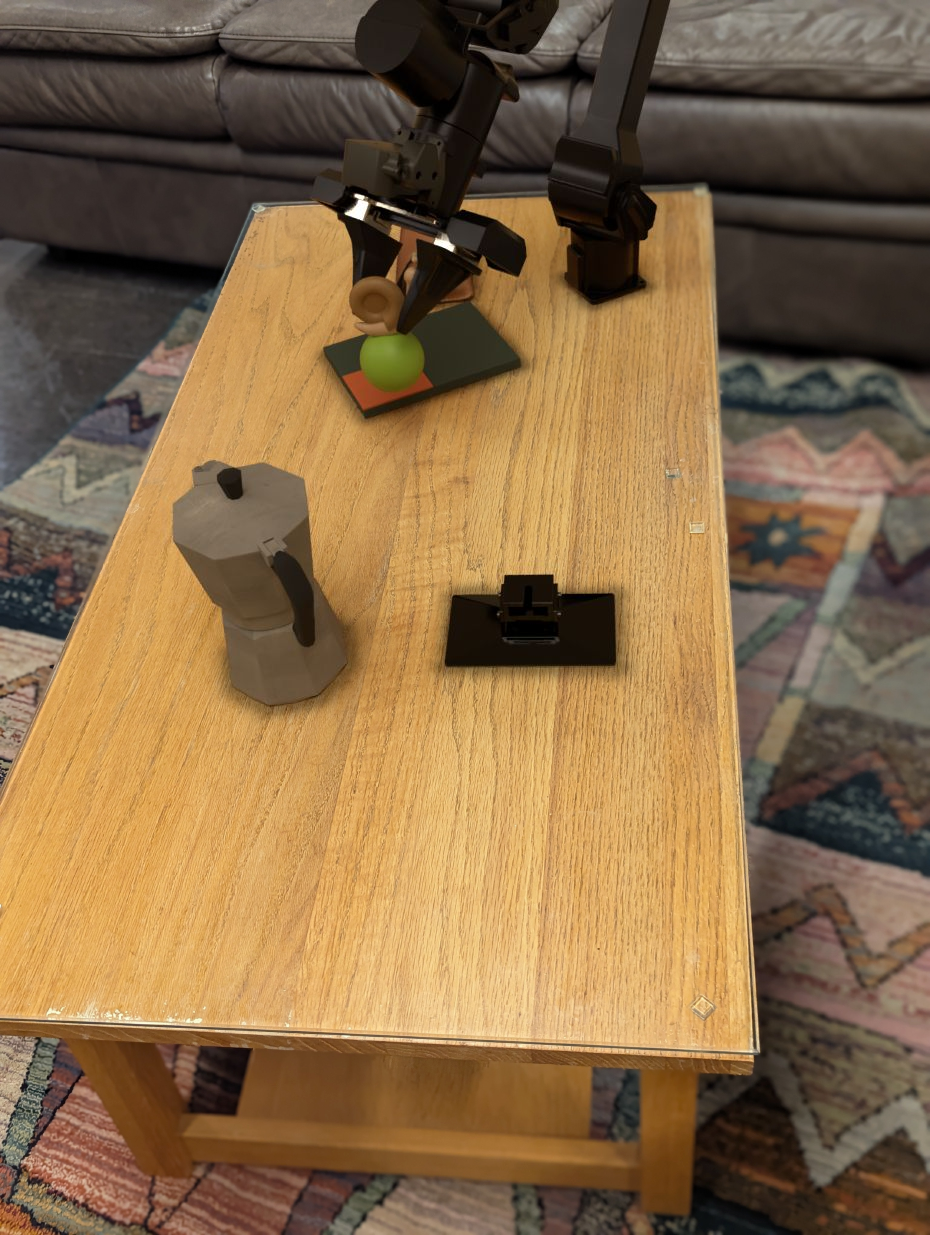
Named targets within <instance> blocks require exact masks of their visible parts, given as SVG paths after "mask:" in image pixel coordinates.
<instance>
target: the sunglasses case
mask: <svg viewBox="0 0 930 1235" xmlns="http://www.w3.org/2000/svg"><path fill="white" fill-rule="evenodd" d="M417 238H418V239H421V240H424V241H427V242H430V243H433V241H434V238H431V237H428V236H425V235H422V234H419V233H416V232H413V231H410V230H407V229H404V228H401V227H400V233H399V240H398V241H399V242H400V243H402V244H403V246H402V248H401V249H400V251H399V253H398V255H397V257H396V268H395V269H396V270H395V284H396V285H397V286H398V287H399V288H400V289H401V291H402V293H403V295H404V297H405V298H406V289H407V283H406V281H405V279H404V273H405V271H406V270H407V269H408V268H409V267H416V263H413V262H412V253H413V252H417V247H416V239H417ZM474 290H475V289H474V282H473V275H471V276H470V277H469V278H468V279H466V280H465V281H464V282H463V283H462V284H460V285H459V286H458V287H457V288H455V289H454V290H453V291H452V292H451V293H449V294H448V295H447V296H446V297H445V298H444V299H443V300H441V301H440V302H439V303H438V304H437V305H439V304H440V305H441V304H446V303H453V302H459V301H464V300H468V299H471V298H473V297H474V295H475V293H474Z"/></svg>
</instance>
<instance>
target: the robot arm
mask: <svg viewBox="0 0 930 1235" xmlns="http://www.w3.org/2000/svg"><path fill="white" fill-rule="evenodd" d="M670 4H671V0H613V2H612V7H611V10H610V15H609V19H608V23H607V27H606V31H605V35H604V39H603V44H602V47H601V51H600V56H599V60H598V64H597V68H596V72H595V76H594V80H593V83H592V84H593V85H592V89H591V93H590V96H589V101H588V105H587V109H586V113H585V117H584V120H583V121H582V123H580V125H579V126H578V127H577V128H576V129H575V130H574V131H573V133H572V134H571V135H570V136H569V135H564V134H563V135H561V136H560V138H559V139H558V141H557V142H556V144H555V151H554V152H555V153H554V157H553V162H552V166H551V169H550V172H549V173H548V176H547V181H548V184H547V199H548V201H549V202H550V206H551V208H552V212H553V215H554V218H555V222H556V224H557V226H558V227H560V228H567V229H569V230H570V243H569V244H567V246H566V271H565V272H564V273H563V274H564V275H563V278H564V279H565V281H566V282H567V283H568V284H570V285H571V286H572V287H573V288H574V289H575V291H577V292H578V293H579V294H580V295H581V296H582V297H583V298H584V299H585V300H586V301H587V302H588V303H589V304H591V305H596V304H599V303H602V302H606V301H608V300H611V299H614V298H615V299H616V298H617V297H621V296H623V295H627V294H630V293H633V292H636V291H639V290H642V289H645V288H647V280H646V279H644V278H643V277H642V276H641V275H640V242H643V241H646V240H647V239H648V238H649V231H650V230H652V229H653V227H654V225H655V221H656V214H657V210H658V204H657V203H656V202H655V201H653V200H652V198H651V197H649V195H648V194H647V193H646V192H645V191H644V190H643V189H641V185H642V180H643V179H642V178H643V175H644V168H645V165H644V162H643V158H642V157H643V156H642V153H641V148H640V144H639V140H638V136H637V130H638V126H639V122H640V117H641V115H642V110H643V106H644V104H645V103H644V102H645V99H646V96H647V92H648V88H649V84H650V81H651V76H652V73H653V69H654V65H655V61H656V57H657V54H658V50H659V46H660V42H661V38H662V36H663V30H664V27H665V23H666V19H667V16H668V12H669V8H670ZM559 8H560V0H376V1H375V2H374V3H373V4H372V5H371V6H370V7H369V8H368V9H367V12H366V13H365V15H363V16H360V17H361V18H360V19H359V21H358V23H357V27H356V31H355V36H354V49H355V50H354V51H355V56H356V58H357V61H358V63H359V64H360V65H361V67H362V68H363V69H364V70H365V71H367V72H368V73H369V74H371V75H372V76H373V77H375V78H376V79H377V80H378V81H380V82H381V83H382V84H383V85H385V86H386V87H388V88H389V89H390V90H392V92H394V93H395V94H396V95H397V96H399V97H400V98H401V99H403V100H404V101H405V102H407V103H408V104H410V105H411V106H413V107H416V108H418V110H417V113H416V116H415V118H414V121H413V123H412V126H408V125H406V124H405V125H404V124H401V125H400V127H399V128H397V129H396V131H395V134H394V137H393V139H392V140H391V142H390V141H382V140H373V139H372V140H371V139H355V138H346V139H345V144H344V152H343V162H342V169H341V170H342V171H340V170H336V169H333V168H330V167H327V168H326V169H324V170H323V171H320V172H319V173H317V174H316V177H315V178H314V183H313V185H312V189H311V191H310V194H309V196H308V197H309V199H311V201H312V200H313V201H314V202H316V203H318V204H320V205H321V206H323V207H325V208H326V209H328V210H330V211H332V212H334V213H336V217H337V220H338V221H339V222H340V223H342V224H343V225H344V226H345V229H346V231H347V234H348V236H349V238H350V243H351V252H352V253H351V254H352V280H351V281H352V283H351V285H352V286H351V289H352V288H353V286H354V285H355V284H356V283H357V282H358V281H360V280H361V279H364V278H366V277H371V276H378V277H383V278H386V279H387V276H388V274H389V272H390V270H391V268H392V266H393V265H394V263H395V261H396V260H397V257H398V253H399V251H400V249H401V248H402V246H403V244H402V243H400V242H399V241H400V240H397V239H395V238H394V237H392V236H390V235H391V233H392V229H393V227H392V226H395V227H398V228H400V229H401V228H404V229H407V230H410V231H413V232H416V233H419V234H422V235H425V236H428V237H431V238H434V241H433V243H430V242H427V241H424V240H421V239H418V238H417V239H416V247H417V261H418V263H417V267H416V270H415V273H414V276H413V278H412V281H411V284H410V287H409V289H408V292H407V295H406V298H405V300H404V303H403V306H402V308H401V311H400V315H399V319H398V323H397V327H396V331H397V332H398V333H400V334H403V335H407V334H408V333H409V332H410V331H411V330H412V329H413V328H414V327H415V326H416V325H417V324H418V323H419V322H420V321H421V320H422V319H423V318H424V317H425V316H426V315H427V314H429V313H431V311H432V310H433V309H435V307H437V306H438V305H439V304H438V303H439V302H440V301H441V300H443V299H444V298H445V297H446V296H447V295H448V294H449V293H451V292H452V291H453V290H454V289H455V288H457V287H458V286H459V285H460V284H462V283H463V282H464V281H465V280H466V279H468V278H469V277H470V276H471V275H472V276H476V277H481V275H482V274H483V269H482V268H479V265H480V264H481V260H482V257H483V258H484V259H485V263H486V265H487V266H486V267H488V268H489V269H491V270H493V271H494V270H495V271H496V272H500V273H504V274H506V275H509V276H512V277H515V278H519V277H520V276H521V273H522V271H523V267H524V265H525V262H526V259H527V258H528V252H527V244H526V239H525V238H524V237H522V236H521V235H519V234H518V233H517V232H515V231H513V229H511V228H509V227H508V226H506V225H505V224H504V223H503V222H501V221H499V220H498V219H496V218H493V217H490V216H486V215H483V214H480V213H477V212H473V211H470V210H466V209H463V208H461V207H462V205H463V202H464V200H465V197H466V195H467V192H468V190H469V187H470V184H471V181H472V179H473V178H477V179H481V180H483V178H484V175H485V173H486V171H487V168H488V167H487V166H486V165H485V164H484V163H483V162H482V161H480V158H481V156H482V153H483V150H484V147H485V145H486V142H487V139H488V136H489V134H490V131H491V128H492V126H493V123H494V121H495V118H496V115H497V112H498V110H499V108H500V105H501V103H502V101H506V102H510V103H513V104H516V103H518V102H519V101H520V98H521V96H520V95H521V94H520V90H519V85H518V83H517V81H516V79H515V76H514V67H513V66H514V65H512V64H511V63H507V62H502V61H496V60H492V59H491V58H490V57H489V56H488V55H486V54H485V53H484V52H482V51H480V50H476V49H469V47H470V46H475V47H480V48H484V49H489V50H494V51H497V52H498V51H499V52H502V53H503V52H504V53H508V54H511V55H512V54H514V55H517V56H518V55H519V56H520V55H523V56H526V55H528V54H529V53H530V52H531V51H533V50H534V49H535V48H536V46H537V45H538V44H539V42H540V41H541V39H542V38H543V36H544V35H545V33H546V31H547V29H548V28H549V26H550V24H551V22H552V20H553V19H554V17H555V15H556V14H557V13H558V11H559ZM351 314H352V315H353V316H355V315H354V313H353V312H352V311H351Z"/></svg>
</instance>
